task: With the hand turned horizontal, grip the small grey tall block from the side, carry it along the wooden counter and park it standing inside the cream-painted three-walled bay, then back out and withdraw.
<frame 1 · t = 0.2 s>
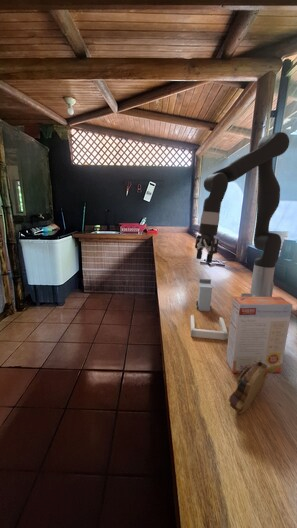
hand: (203, 260, 103), 22 cm above the worktop, tool pointing down, fingers open, 8 cm apart
soda can: (244, 324, 93), on the worktop
wooden carving: (246, 402, 56), on the worktop
bay: (207, 329, 88), on the worktop
cracker box: (251, 367, 68), on the worktop
grey tall block: (203, 307, 107), on the worktop
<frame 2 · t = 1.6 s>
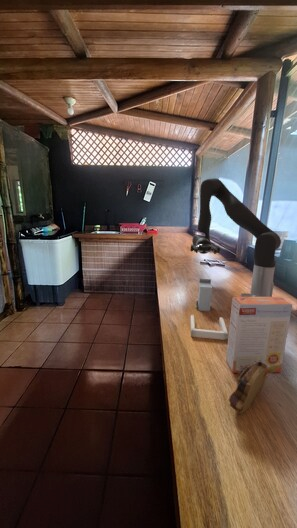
hand: (206, 251, 112), 24 cm above the worktop, tool horizontal, fingers open, 8 cm apart
nothing on the worktop moved.
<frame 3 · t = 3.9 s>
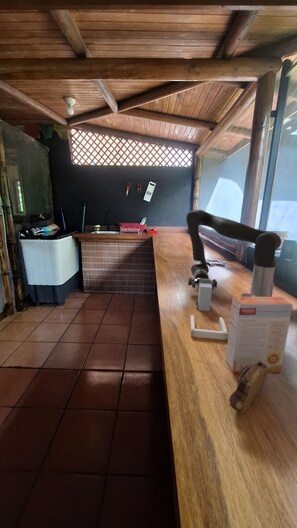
hand: (203, 287, 114), 7 cm above the worktop, tool horizontal, fingers open, 8 cm apart
nothing on the worktop moved.
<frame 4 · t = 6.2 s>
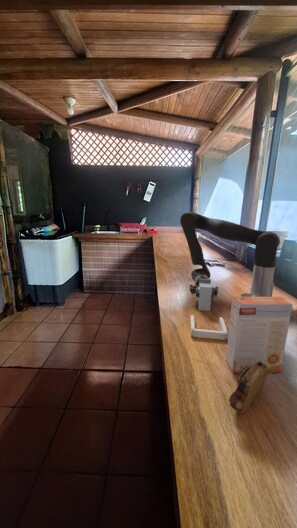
hand: (205, 296, 103), 7 cm above the worktop, tool horizontal, fingers closed on grey tall block, 5 cm apart
grey tall block: (203, 307, 107), on the worktop, touching gripper
everything else where it was.
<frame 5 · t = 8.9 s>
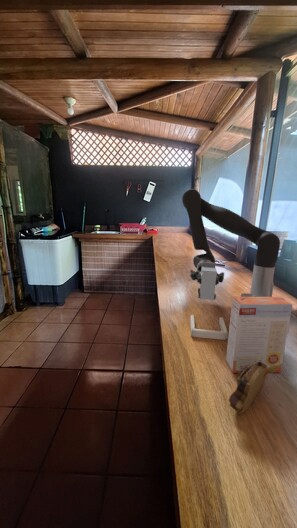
hand: (208, 282, 86), 18 cm above the worktop, tool horizontal, fingers closed on grey tall block, 5 cm apart
grey tall block: (206, 295, 90), point 11 cm above the worktop, touching gripper
everything else where it was.
when the fingers open (8 cm above the worktop, at t = 11.6 s): grey tall block drops 1 cm, on the worktop.
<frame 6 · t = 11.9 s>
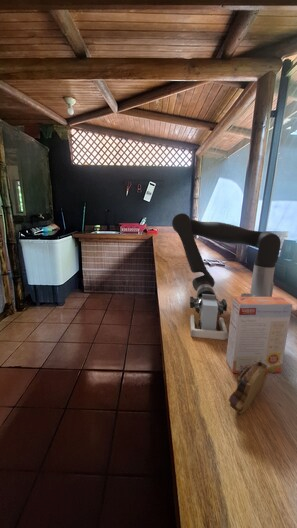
hand: (209, 311, 85), 8 cm above the worktop, tool horizontal, fingers open, 7 cm apart
grey tall block: (207, 328, 89), on the worktop
everything else where it was.
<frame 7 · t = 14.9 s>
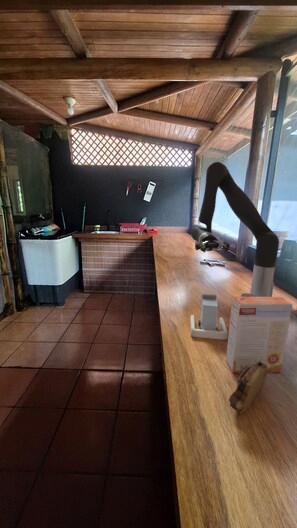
hand: (215, 250, 96), 27 cm above the worktop, tool horizontal, fingers open, 8 cm apart
nothing on the worktop moved.
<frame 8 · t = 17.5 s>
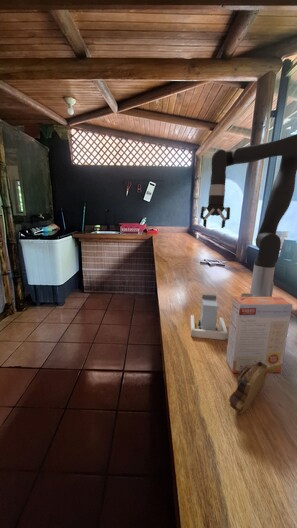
hand: (213, 227, 120), 34 cm above the worktop, tool pointing down, fingers open, 8 cm apart
nothing on the worktop moved.
at the end: grey tall block inside the target area (0.6 cm from its centre), on the worktop; grey tall block tilted 0°; the gripper is holding nothing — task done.
